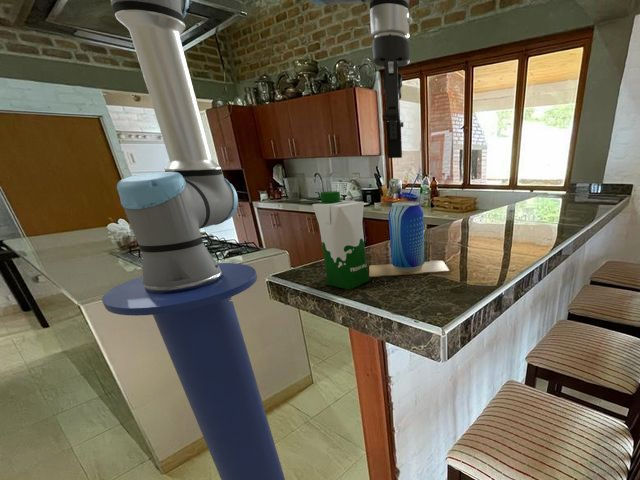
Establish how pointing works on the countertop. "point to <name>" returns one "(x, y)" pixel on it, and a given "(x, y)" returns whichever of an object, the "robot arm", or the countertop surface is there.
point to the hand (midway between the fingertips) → (395, 157)
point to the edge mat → (391, 271)
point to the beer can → (406, 236)
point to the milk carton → (342, 240)
